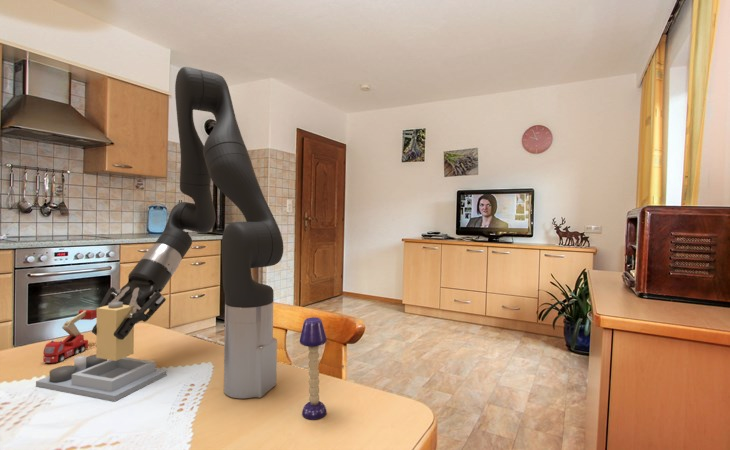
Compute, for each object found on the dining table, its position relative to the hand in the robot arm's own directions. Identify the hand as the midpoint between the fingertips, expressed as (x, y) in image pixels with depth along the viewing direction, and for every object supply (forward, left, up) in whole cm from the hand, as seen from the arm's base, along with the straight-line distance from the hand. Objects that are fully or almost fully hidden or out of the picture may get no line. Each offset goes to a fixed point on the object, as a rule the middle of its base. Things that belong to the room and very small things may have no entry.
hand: (107, 335), depth 73 cm
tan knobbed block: (0, -2, -5) cm, 5 cm away
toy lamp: (-43, -3, -10) cm, 44 cm away
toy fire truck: (+24, -11, -10) cm, 28 cm away
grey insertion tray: (+3, -2, -10) cm, 11 cm away
